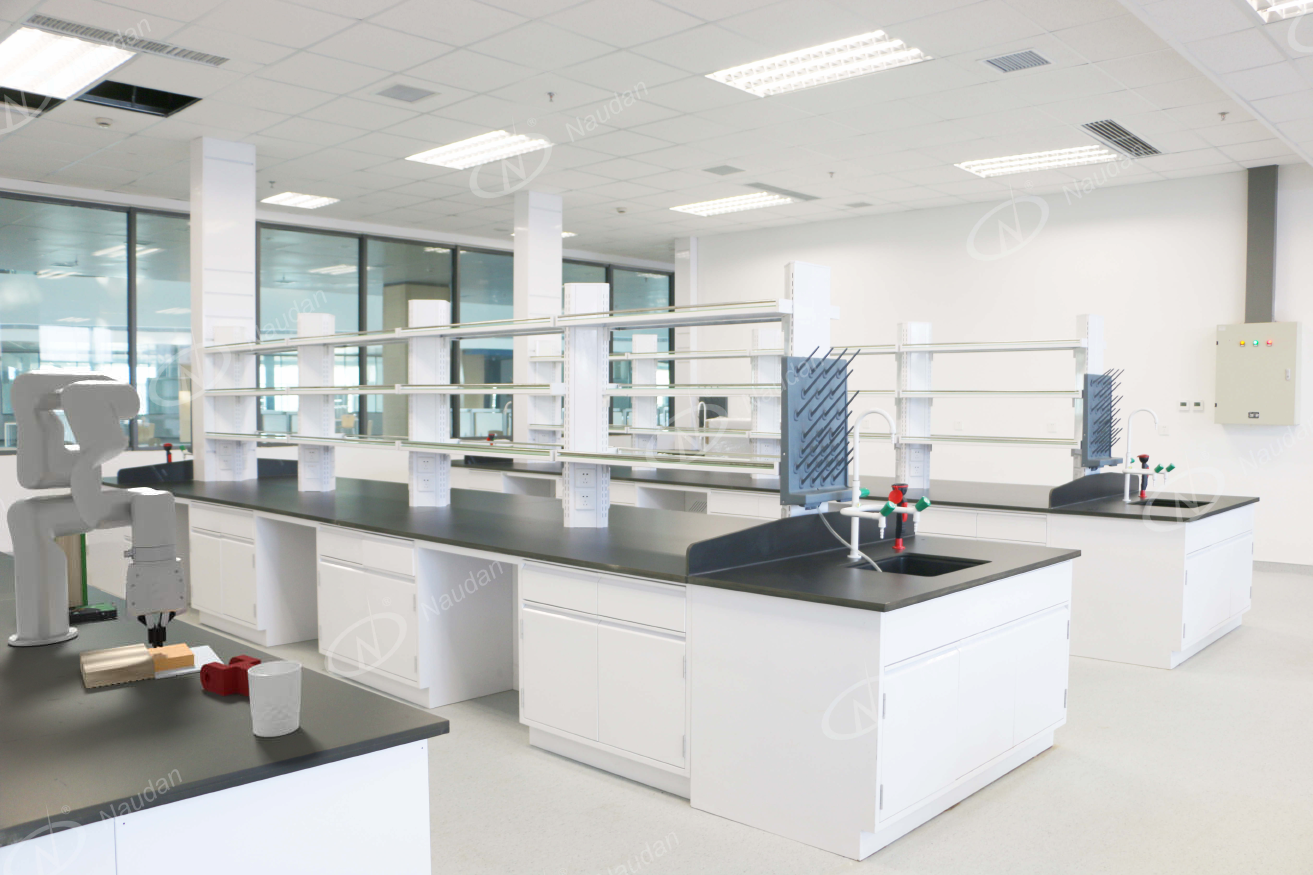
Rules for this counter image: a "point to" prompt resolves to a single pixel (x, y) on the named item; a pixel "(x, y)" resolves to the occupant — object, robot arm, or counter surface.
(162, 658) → the slab
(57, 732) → the counter surface
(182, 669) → the mat
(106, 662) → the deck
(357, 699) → the counter surface
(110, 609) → the disk drive
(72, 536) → the hardback book
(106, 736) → the counter surface
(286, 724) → the white cup
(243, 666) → the mechanical linkage
